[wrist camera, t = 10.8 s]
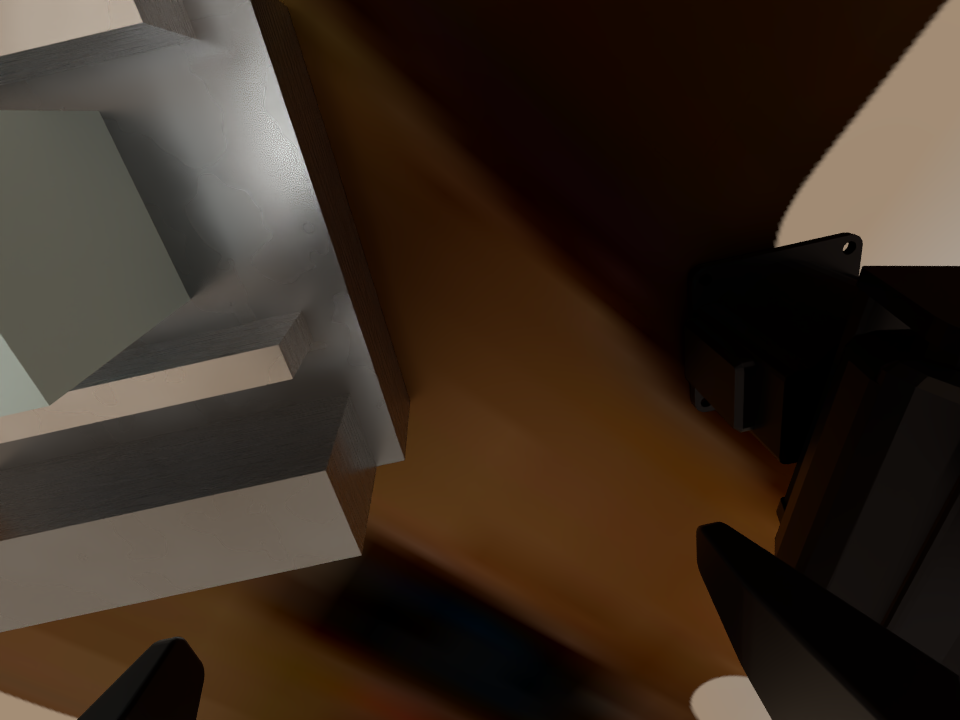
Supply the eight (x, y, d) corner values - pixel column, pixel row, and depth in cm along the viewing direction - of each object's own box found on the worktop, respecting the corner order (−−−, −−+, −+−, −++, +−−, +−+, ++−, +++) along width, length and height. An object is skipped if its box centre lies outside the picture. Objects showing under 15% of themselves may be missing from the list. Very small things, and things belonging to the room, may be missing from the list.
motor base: (287, 6, 15) (154, -89, 8) (410, 401, 21) (396, 547, 14) (-161, 112, 16) (-673, 111, 8) (87, 472, 22) (-85, 650, 14)
